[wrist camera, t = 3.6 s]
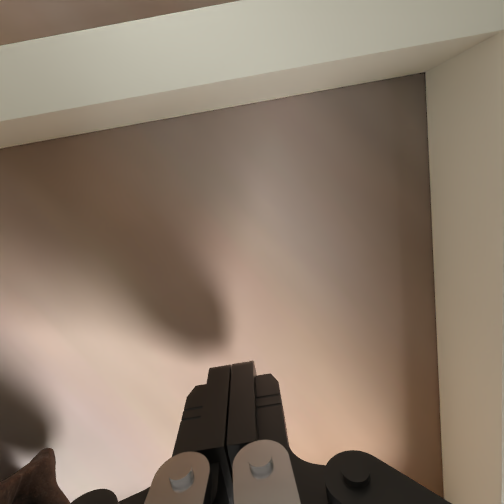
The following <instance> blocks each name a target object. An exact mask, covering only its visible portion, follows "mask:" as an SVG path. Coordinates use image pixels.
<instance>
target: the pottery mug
mask: <svg viewBox="0 0 504 504" xmlns="http://www.w3.org/2000/svg"><path fill="white" fill-rule="evenodd" d="M55 464H56V461H55V455H54V451H53V449H52V448H45V449H43V450H41V451H40V452H39V453H38V454H37V455H36V456H35V457H34V458H33V459H32V460H31V461H30V463H28V464H27V465H25V466H24V467H23V468H21V469H20V470H19V471H17V472H16V473H15V474H14V475H12V476H10V477H8V478H7V479H5V480H4V481H2V482H0V504H70V502H69V500H68V499H67V497H66V496H65V495H64V493H63V492H62V491H61V489H60V488H59V487H58V485H57V482H56V473H55Z"/></svg>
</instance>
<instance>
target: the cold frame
mask: <svg viewBox="0 0 504 504" xmlns="http://www.w3.org/2000/svg"><path fill="white" fill-rule="evenodd" d="M423 72H425V78H426V101H427V124H428V146H429V169H430V192H431V215H432V238H433V261H434V284H435V307H436V329H437V352H438V375H439V398H440V421H441V444H442V467H443V490H444V499H445V500H447V501H448V502H450V503H452V504H504V0H240V1H235V2H229V3H224V4H219V5H213V6H208V7H203V8H197V9H192V10H187V11H181V12H176V13H171V14H165V15H160V16H155V17H149V18H144V19H139V20H133V21H128V22H123V23H118V24H112V25H107V26H102V27H96V28H91V29H86V30H80V31H75V32H70V33H64V34H59V35H54V36H48V37H43V38H38V39H32V40H27V41H22V42H16V43H11V44H6V45H1V46H0V148H6V147H11V146H17V145H22V144H28V143H34V142H39V141H45V140H50V139H56V138H61V137H67V136H72V135H78V134H84V133H89V132H95V131H100V130H106V129H111V128H117V127H123V126H128V125H134V124H139V123H145V122H150V121H156V120H162V119H167V118H173V117H178V116H184V115H189V114H195V113H200V112H206V111H212V110H217V109H223V108H228V107H234V106H239V105H245V104H251V103H256V102H262V101H267V100H273V99H278V98H284V97H290V96H295V95H301V94H306V93H312V92H317V91H323V90H329V89H334V88H340V87H345V86H351V85H356V84H362V83H367V82H373V81H379V80H384V79H390V78H395V77H401V76H406V75H412V74H418V73H423Z"/></svg>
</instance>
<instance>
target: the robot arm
mask: <svg viewBox="0 0 504 504" xmlns="http://www.w3.org/2000/svg"><path fill="white" fill-rule="evenodd" d="M70 504H452V503H450V502H448V501H447V500H445V499H443V498H442V497H440V496H438V495H437V494H435V493H433V492H432V491H430V490H429V489H427V488H425V487H424V486H422V485H420V484H419V483H417V482H415V481H414V480H412V479H410V478H409V477H407V476H406V475H404V474H402V473H401V472H399V471H397V470H396V469H394V468H392V467H391V466H389V465H387V464H386V463H384V462H383V461H381V460H379V459H378V458H376V457H374V456H372V455H370V454H368V453H365V452H362V451H354V450H352V451H344V452H341V453H339V454H337V455H335V456H334V457H332V458H331V459H330V460H329V462H328V463H327V465H326V466H325V465H318V464H312V463H308V462H306V461H303V460H301V459H300V458H298V457H297V456H296V455H295V454H294V453H293V452H292V451H291V449H290V447H289V442H288V436H287V429H286V423H285V417H284V411H283V406H282V400H281V394H280V389H279V383H278V381H277V380H276V379H275V378H274V377H273V376H272V374H264V375H258V376H257V375H256V370H255V365H254V361H249V362H243V363H237V364H232V365H225V366H219V367H213V368H210V369H209V373H208V379H207V384H204V385H198V386H195V388H194V389H193V390H192V391H191V393H190V394H189V395H188V397H187V399H186V403H185V407H184V411H183V415H182V421H181V423H180V427H179V431H178V435H177V439H176V443H175V447H174V451H173V455H172V457H171V458H170V459H168V460H167V461H166V462H165V463H164V464H163V465H162V466H161V467H160V468H159V469H158V471H157V472H156V474H155V476H154V478H153V481H152V484H151V486H150V487H149V488H147V489H145V490H143V491H141V492H139V493H137V494H135V495H133V496H130V497H128V498H126V499H124V500H122V501H119V502H118V500H117V497H116V495H115V494H114V493H113V492H112V491H110V490H107V489H97V490H93V491H90V492H88V493H85V494H83V495H82V496H80V497H78V498H77V499H75V500H74V501H73V502H72V503H70Z"/></svg>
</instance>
